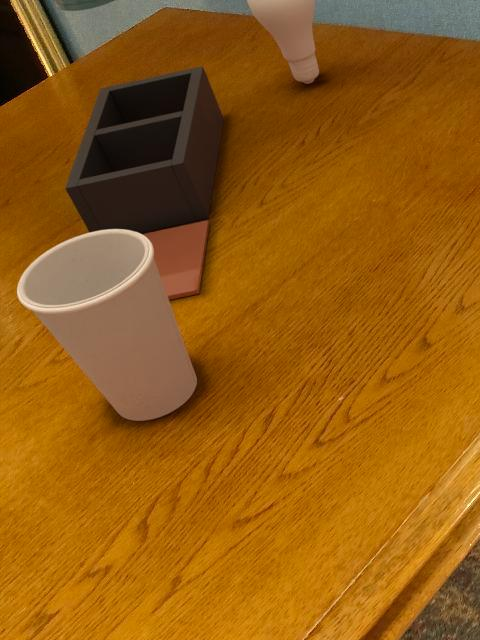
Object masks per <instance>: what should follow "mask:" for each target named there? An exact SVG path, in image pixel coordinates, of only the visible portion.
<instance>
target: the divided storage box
mask: <svg viewBox="0 0 480 640" xmlns="http://www.w3.org/2000/svg"><path fill="white" fill-rule="evenodd" d="M224 121H225V117H224V116H223V113H222V110H221V108H220V105H219V102H218V101H217V98H216V95H215V93H214V90H213V88H212V85H211V83H210V81H209V78H208V75H207V73H206V70H205V67H204V66H203V65H201V66H197V67H192V68H188V69H182V70H178V71H174V72H169V73H164V74H159V75H156V76H151V77H150V76H149V77H147V78H142V79H137V80H133V81H128V82H124V83H119V84H114V85H110V86H105V87H101V88H100V89H99V92H98V94H97V97H96V100H95V102H94V106H93V108H92V111H91V114H90V117H89V120H88V122H87V125H86V129H85V131H84V133H83V135H82V136H83V137H82V139H81V141H80V145H79V148H78V150H77V154H76V156H75V159H74V161H73V165H72V167H71V170H70V173H69V176H68V179H67V181H66V184H65V187H64V189H65V191H66V193H67V195H68V196H69V198H70V201H71V202H72V204H73V205H74V207H75V209H76V211H77V212H78V215H79V216H80V218H81V220H82V221H83V224H84V225H85V227H86V229H87V231H88V233H90V232H95V231H100V230H108V229H124V230H130V231H134V232H138V233H140V234H146V233H150V232H155V231H160V230H164V229H169V228H173V227H178V226H183V225H187V224H192V223H196V222H201V221H205V220H208V219H209V215H210V210H211V203H212V197H213V190H214V185H215V178H216V172H217V167H218V158H219V154H220V148H221V147H220V146H221V140H222V134H223V127H224Z"/></svg>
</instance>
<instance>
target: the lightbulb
mask: <svg viewBox="0 0 480 640" xmlns="http://www.w3.org/2000/svg"><path fill="white" fill-rule="evenodd" d="M246 2H247V5H248V8H249V10H250V12H251V13H252V15H253V16H254V18H255V19H256V20H257V22H258V23H259V24H260V25H261V26H262V27H263V28H264V29H265V30H266V31H267V32H268V33H269V34H270V36H271V37H272V38H273V39H274V41H275V42H276V44H277V45H278V48H279V49H280V52H281V54H282V56H283V58H284V59H285V60H286V61H287V63H288V66H289V69H290V71H291V75H292V76H293V78H294V80H296V81H297V82H300V83H304V84H305V85H309V84H312V83H313V82H315V79H316V78H317V77H319V74H320V69H319V63H318V60H317V57H316V53H315V52H316V50H317V49H316V45H315V41H314V34H313V20H314V16H315V9H316V0H246Z"/></svg>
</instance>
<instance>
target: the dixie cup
mask: <svg viewBox="0 0 480 640" xmlns="http://www.w3.org/2000/svg"><path fill="white" fill-rule="evenodd" d="M142 234H143V233H138V232H134V231H130V230H124V229H108V230H100V231H95V232H87V233H83V234H79V235H77V236H74V237H72V238H69V239H67V240H64V241H62V242H61V243H58V244H57V245H55V246H53V247H51V248H50V249H48V250H47V251H45V252H43V253H42V254H41V255H39V256H38V257H37V258H36V259H34V261H32V262H31V263H30V264H29V266H28V267H27V268H25V270H24V271H23V273H22V274H21V276H20V279H19V281H18V284H17V287H16V294H17V298H18V301H19V302H20V303H21V305H22V306H23V307H25V308H26V309H27V310H28V311H29V310H30V311H31V312H32V313H34V315H35V316H36V317H37V318H38V320H39V321H40V322H41V323H42V324H43V325H44V326H45V328H46V329H47V330H48V331H49V333H50V334H51V335H52V336H53V337H54V338H55V340H56V341H57V342H58V344H60V346H61V347H62V348H63V349H64V350H65V352H66V353H67V355H69V357H70V358H71V359H72V360H73V362H75V364H76V365H77V366H78V367H79V368H80V369H81V371H82V372H83V374H85V376H86V377H87V378H88V379H89V381H91V382H92V384H93V385H94V386H95V387H96V389H97V390H98V391H99V392H100V393H101V395H102V396H103V397H104V398H105V399H106V400H107V402H108V403H109V404H110V405H111V407H113V409H114V410H115V411H116V413H118V415H120V417H122V418H124V419H125V420H130V421H134V422H135V421H136V422H144V421H150V420H154V419H158V418H161V417H164V416H166V415H168V414H170V413H173V412H174V411H175V410H177V409H179V408H180V407H181V406H183V405H184V404H185V403H186V402H187V401H188V400H189V399H190V398H191V397H192V395H193V394H194V392H195V390H196V388H197V385H198V378H197V375H196V372H195V369H194V366H193V364H192V361H191V358H190V355H189V352H188V350H187V347H186V344H185V342H184V338H183V335H182V333H181V331H180V327H179V324H178V322H177V319H176V317H175V316H176V315H175V314H174V311H173V308H172V305H171V302H170V300H169V299H168V296H167V294H166V291H165V288H164V285H163V282H162V280H161V277H160V274H159V271H158V268H157V266H156V263H155V260H154V248H153V245H152V243H151V242H150V240H149V239H148V238H147V237H145V236H144V235H142Z"/></svg>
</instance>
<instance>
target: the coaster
mask: <svg viewBox="0 0 480 640" xmlns="http://www.w3.org/2000/svg"><path fill="white" fill-rule="evenodd" d="M210 225H211V224H210V221H209V220H208V219H205V220H201V221H196V222H191V223H187V224H182V225H177V226H173V227H168V228H164V229H159V230H154V231H150V232H145V233H141V234H142V235H144V236H145V237H147V238H148V239H149V240H150V242H151V243H152V245H153V248H154V260H155V263H156V266H157V268H158V271H159V274H160V277H161V280H162V282H163V285H164V288H165V291H166V294H167V296H168V299H169V301H171V300H172V301H173V300H176V299H182V298H185V297H191V296H194V295H195V296H196V295H199V294H200V290H201V283H202V277H203V270H204V263H205V257H206V251H207V243H208V238H209V232H210Z"/></svg>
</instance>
